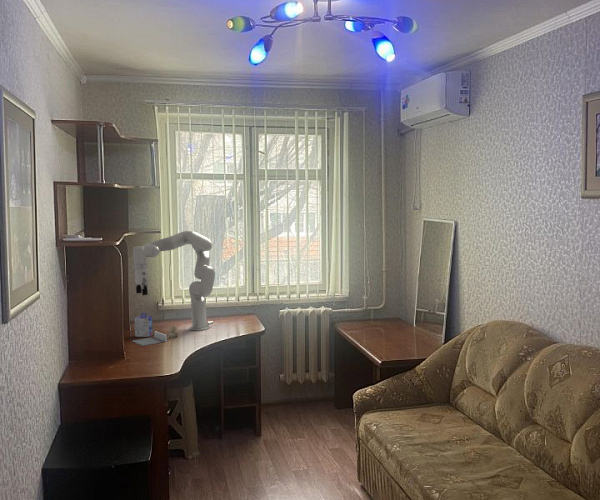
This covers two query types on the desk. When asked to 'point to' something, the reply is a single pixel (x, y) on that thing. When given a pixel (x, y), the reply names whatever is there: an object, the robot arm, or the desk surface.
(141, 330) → the ink cartridge box
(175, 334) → the birch cylinder
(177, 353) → the desk surface
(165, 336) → the plate
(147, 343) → the board
